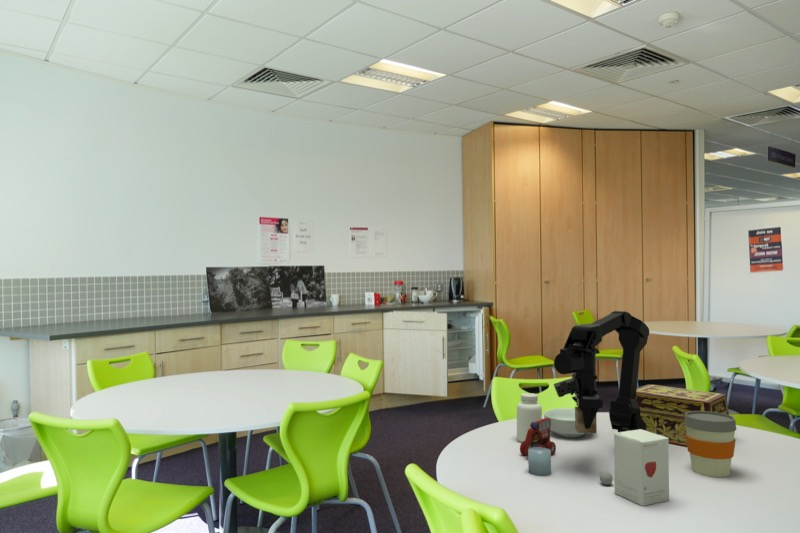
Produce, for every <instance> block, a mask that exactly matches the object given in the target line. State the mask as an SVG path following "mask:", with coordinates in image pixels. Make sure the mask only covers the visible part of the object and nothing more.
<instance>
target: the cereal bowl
mask: <svg viewBox="0 0 800 533" xmlns="http://www.w3.org/2000/svg"><path fill="white" fill-rule="evenodd" d="M544 418H550V419H551V427H550V431H552V432H554V433H556V434H558V435H559V436H560V437H565V438H580V437H582V436H583V435H585V434H586V433H578V432H577V430H576V428H575V408H572V407H571V408H569V407H566V408H565V407H561V408H560V407H558V408H550V409H547V410H545V411H544V412H543V419H544Z"/></svg>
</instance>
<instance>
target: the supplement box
mask: <svg viewBox="0 0 800 533" xmlns="http://www.w3.org/2000/svg"><path fill="white" fill-rule="evenodd" d="M613 434H614V435H613V436H614V437H613V438H614V439H613V440H614V442H613V443H614V450H613V452H614V455H613V457H614V464H613V465H614V473H613V474H614V477H613V481H614V494H616V495H618V496H620V497H622V498H625V499H627V500H629V501H631V502H633V503H635V504H637V505H640V506H641V507H642V506H643V507H644V506H650V505H652V504H657V503H661V502H666V501H667V502H668V501H670V478H669V477H670V469H669V468H670V463H669V462H670V461H669V459H670V456H669V455H670V454H669V445H670V444H669V438H667V437H664V436H661V435H658V434H654V433H651V432H648V431H645V430H642V429H639V430H632V431H625V432H618V431H617V432H614V433H613Z"/></svg>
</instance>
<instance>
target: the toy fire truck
mask: <svg viewBox="0 0 800 533" xmlns="http://www.w3.org/2000/svg"><path fill="white" fill-rule="evenodd" d="M530 427H531V428H530V429H528V432H527V435H526V439H525V441H523V442H520V445H519V452H520V454H521V455H523V456H528V449H529V448H532V447H543V448H547V449H550V450H551V457H552V456H554V455H555V453H556V450H557V446H556V443H555V441H551V430H550V427H551V419H550V418H544V417H543V418H542V419H541V420H539V421H536V422H532V423H531V424H530Z"/></svg>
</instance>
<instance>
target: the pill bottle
mask: <svg viewBox="0 0 800 533" xmlns="http://www.w3.org/2000/svg"><path fill="white" fill-rule="evenodd" d="M542 413H543V408H542V405H541V404H540V403H539V402H538V394H536V393H531V392H530V393H529V392H523V393H521V394H520V402H518V403H517V405H516V440H517V441H518V442H520V443H522V442H523V441H525V439H526V435H527V432H528V429H530V428H531V427H530V424H531V423H532V422H536V421H539V420H541V419H543V414H542Z"/></svg>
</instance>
